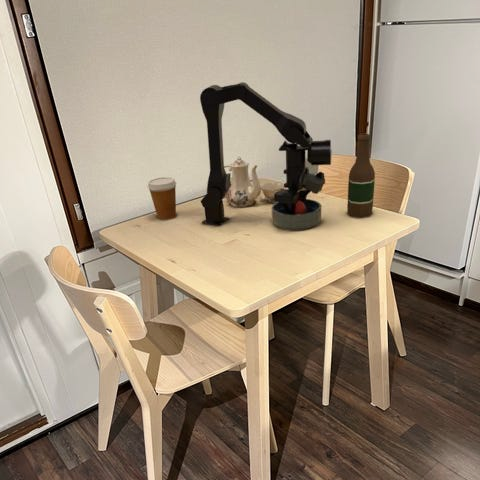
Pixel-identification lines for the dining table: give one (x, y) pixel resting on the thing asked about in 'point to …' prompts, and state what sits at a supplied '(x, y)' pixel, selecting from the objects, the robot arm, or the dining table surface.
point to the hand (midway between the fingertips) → (296, 216)
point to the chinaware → (247, 185)
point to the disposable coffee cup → (163, 196)
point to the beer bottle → (361, 181)
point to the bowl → (297, 216)
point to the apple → (300, 208)
